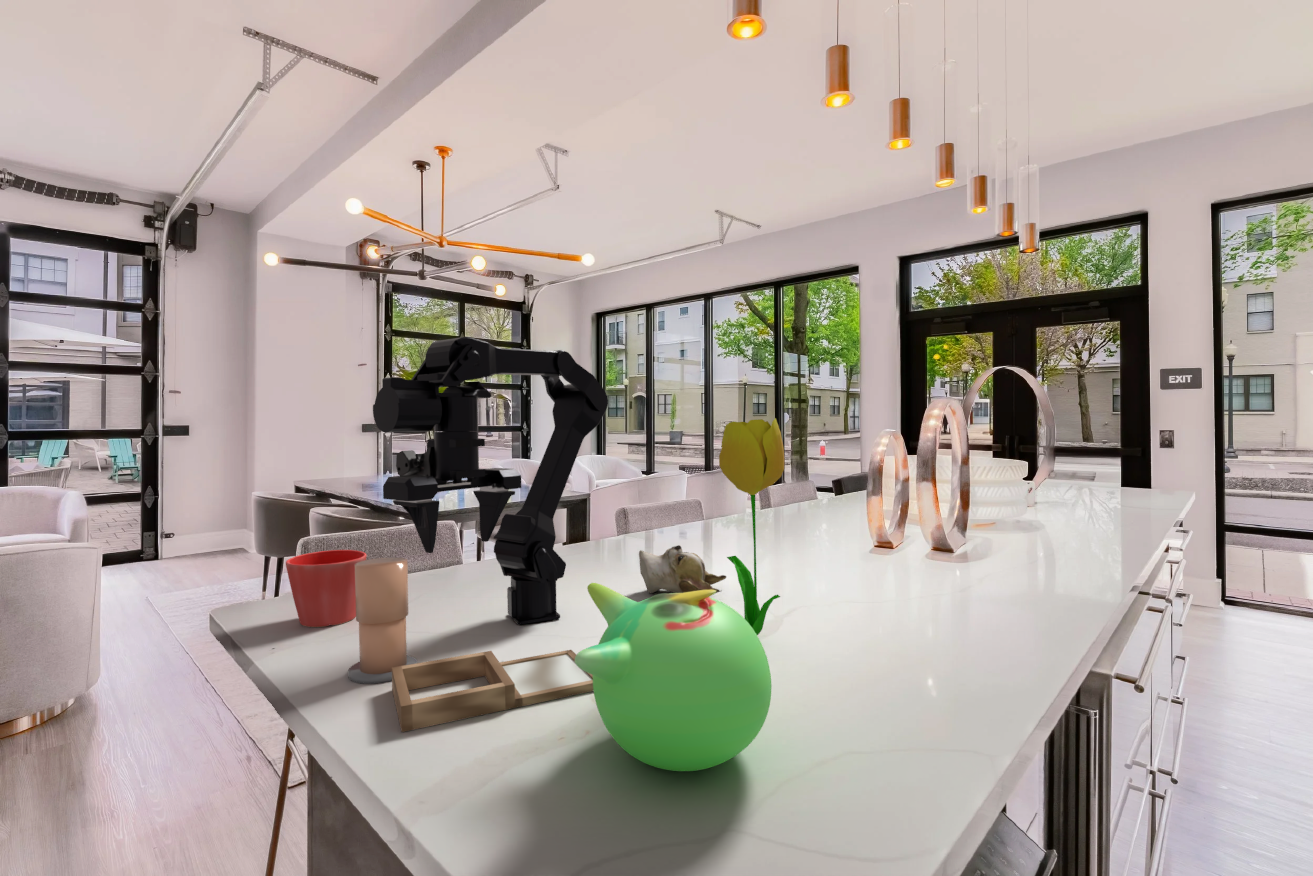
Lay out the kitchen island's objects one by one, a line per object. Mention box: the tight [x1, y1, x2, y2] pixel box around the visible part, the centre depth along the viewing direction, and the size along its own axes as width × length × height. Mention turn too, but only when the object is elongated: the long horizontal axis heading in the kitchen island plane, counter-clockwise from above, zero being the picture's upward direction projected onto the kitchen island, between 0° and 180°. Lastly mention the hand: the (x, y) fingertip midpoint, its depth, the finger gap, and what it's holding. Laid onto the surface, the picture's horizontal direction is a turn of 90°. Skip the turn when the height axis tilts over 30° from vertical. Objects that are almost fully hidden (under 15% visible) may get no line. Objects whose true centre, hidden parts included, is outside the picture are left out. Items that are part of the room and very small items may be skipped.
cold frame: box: [391, 649, 594, 733], centre depth 71 cm, size 21×11×2 cm, turn 117°
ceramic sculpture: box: [638, 545, 727, 594], centre depth 110 cm, size 11×9×15 cm
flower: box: [718, 417, 786, 636], centre depth 85 cm, size 9×8×30 cm
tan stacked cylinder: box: [355, 556, 409, 674], centre depth 76 cm, size 6×6×12 cm
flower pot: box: [285, 549, 368, 628], centre depth 97 cm, size 11×11×10 cm
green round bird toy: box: [575, 582, 772, 772], centre depth 57 cm, size 18×17×15 cm
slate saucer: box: [347, 654, 418, 685], centre depth 76 cm, size 8×8×1 cm
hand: (458, 546), depth 86 cm, fingers open, 9 cm apart
